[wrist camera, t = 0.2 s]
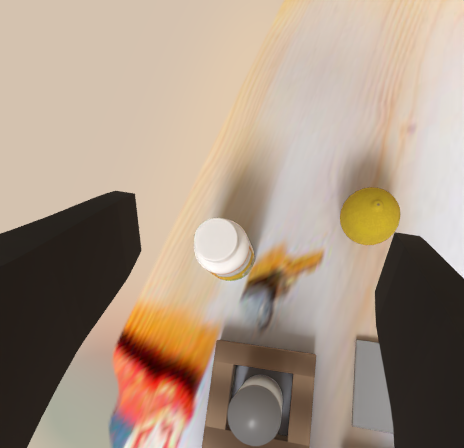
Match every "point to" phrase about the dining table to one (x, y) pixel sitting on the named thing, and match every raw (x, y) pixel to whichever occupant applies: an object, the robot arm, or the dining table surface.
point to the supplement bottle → (223, 249)
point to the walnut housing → (297, 363)
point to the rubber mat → (370, 390)
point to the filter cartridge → (256, 411)
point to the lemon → (370, 216)
